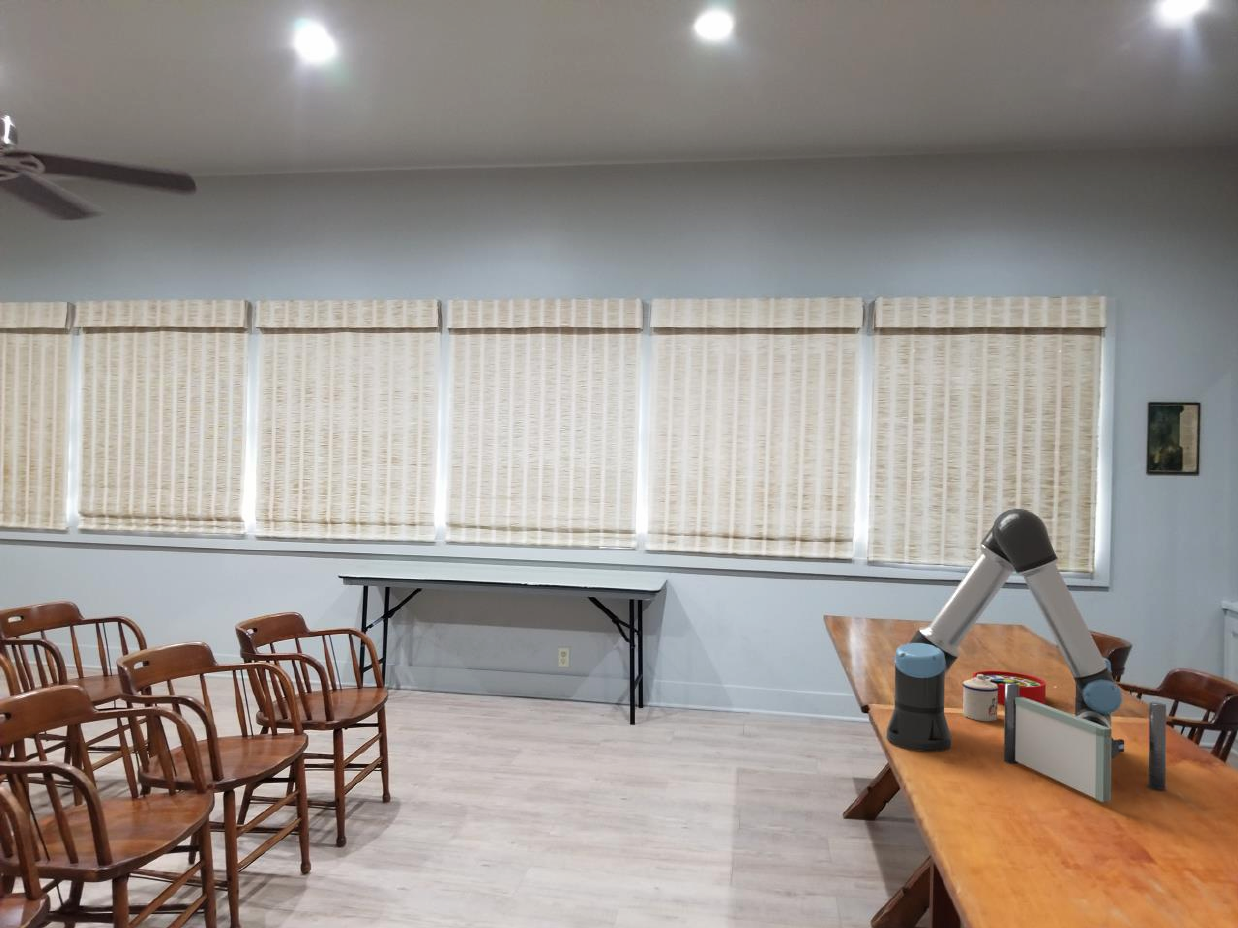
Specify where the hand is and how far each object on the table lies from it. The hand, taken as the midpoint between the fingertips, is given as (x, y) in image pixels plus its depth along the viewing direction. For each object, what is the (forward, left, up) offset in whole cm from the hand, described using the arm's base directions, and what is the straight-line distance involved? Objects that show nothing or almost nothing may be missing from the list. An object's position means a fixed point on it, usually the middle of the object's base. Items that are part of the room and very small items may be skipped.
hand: (1089, 761), depth 167 cm
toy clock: (-22, +75, -7) cm, 79 cm away
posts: (-2, +13, -7) cm, 15 cm away
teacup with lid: (-27, +49, -7) cm, 56 cm away
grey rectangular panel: (-6, +3, -6) cm, 9 cm away
